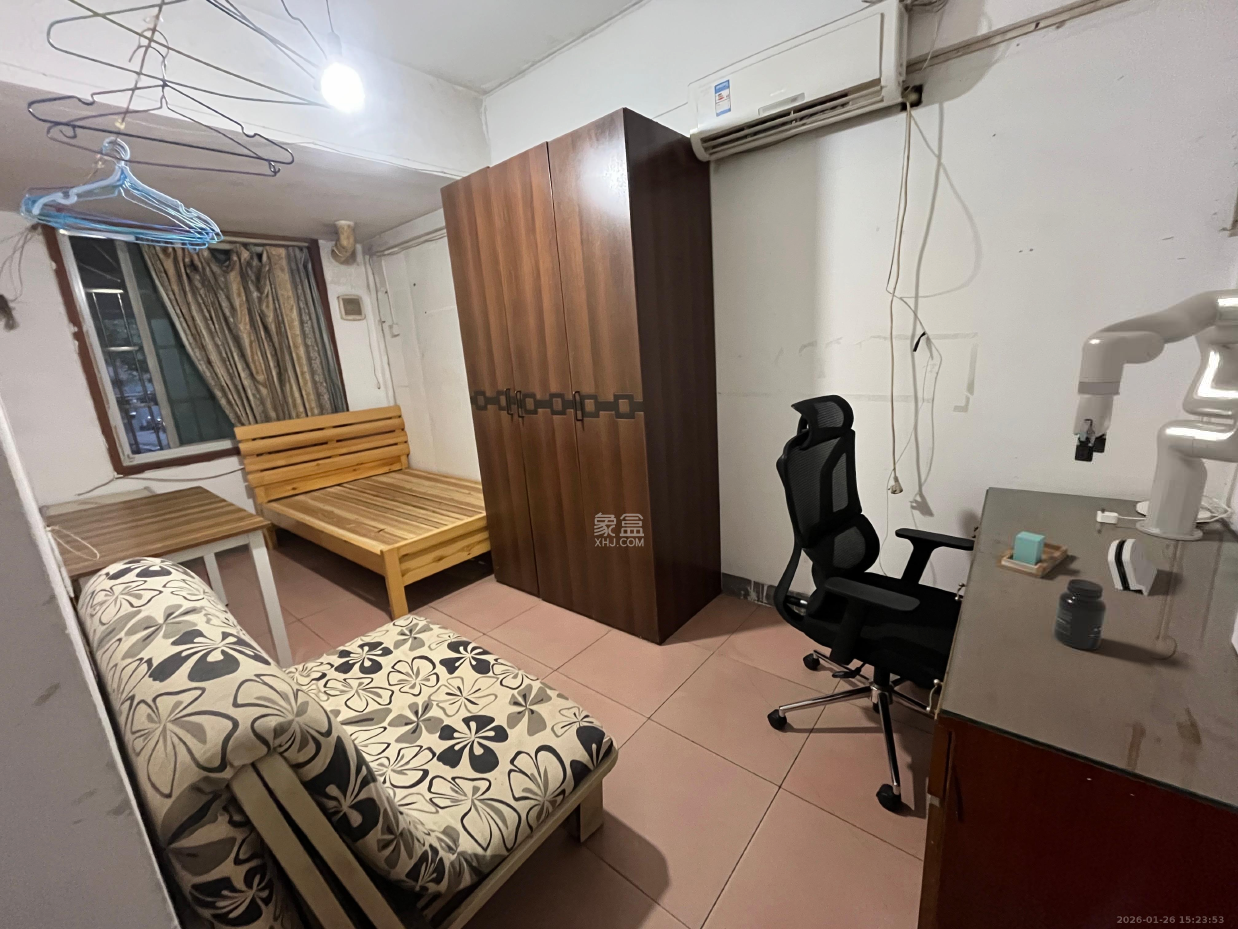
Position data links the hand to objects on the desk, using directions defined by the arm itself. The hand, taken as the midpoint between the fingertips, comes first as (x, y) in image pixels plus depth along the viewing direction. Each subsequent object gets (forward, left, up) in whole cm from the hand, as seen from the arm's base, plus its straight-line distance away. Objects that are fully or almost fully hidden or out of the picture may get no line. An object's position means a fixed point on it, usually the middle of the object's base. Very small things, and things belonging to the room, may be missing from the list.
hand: (1089, 456), depth 125 cm
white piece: (+7, +12, -27) cm, 30 cm away
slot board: (+12, -5, -26) cm, 29 cm away
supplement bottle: (+46, +12, -26) cm, 54 cm away
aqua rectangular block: (+16, -5, -25) cm, 30 cm away
